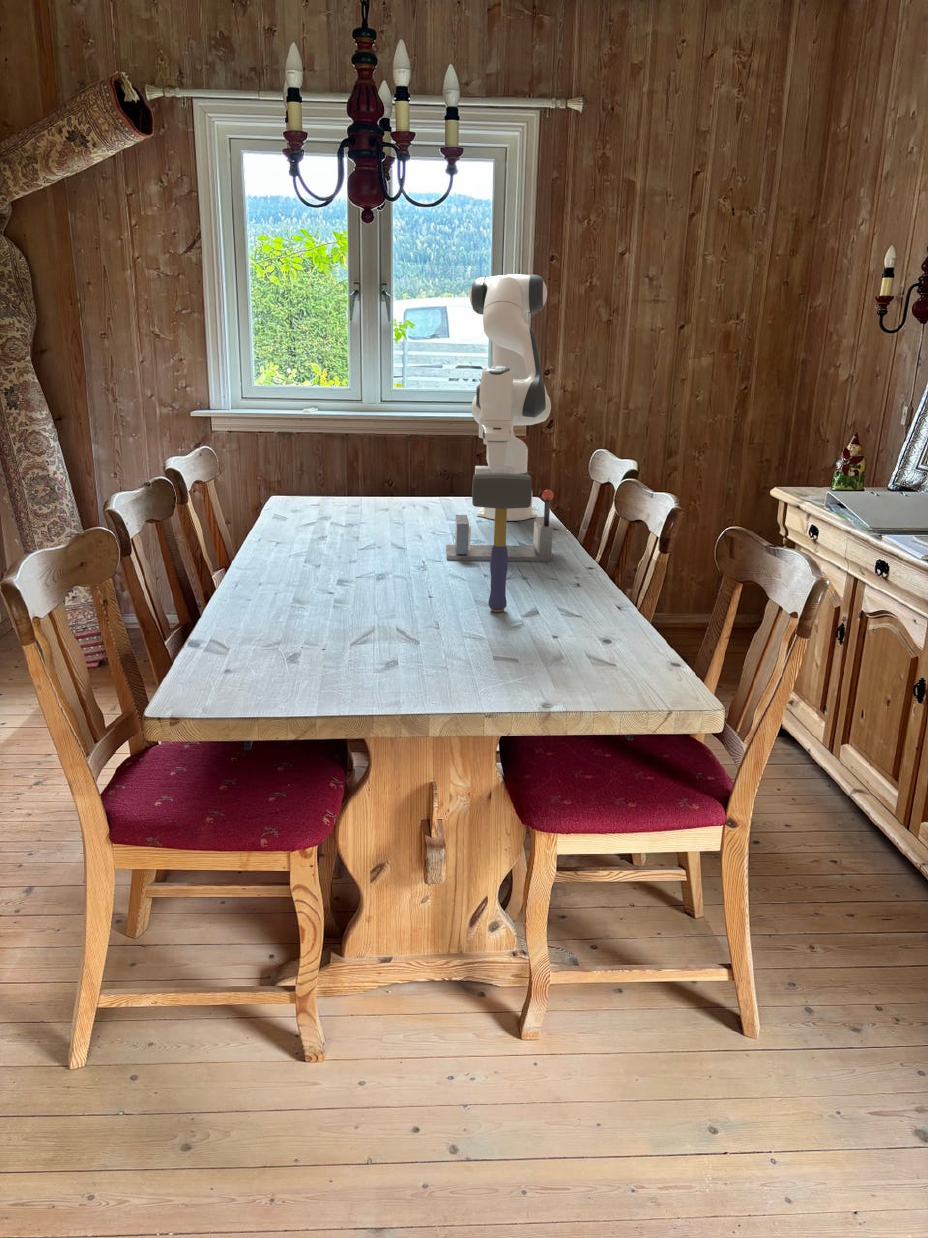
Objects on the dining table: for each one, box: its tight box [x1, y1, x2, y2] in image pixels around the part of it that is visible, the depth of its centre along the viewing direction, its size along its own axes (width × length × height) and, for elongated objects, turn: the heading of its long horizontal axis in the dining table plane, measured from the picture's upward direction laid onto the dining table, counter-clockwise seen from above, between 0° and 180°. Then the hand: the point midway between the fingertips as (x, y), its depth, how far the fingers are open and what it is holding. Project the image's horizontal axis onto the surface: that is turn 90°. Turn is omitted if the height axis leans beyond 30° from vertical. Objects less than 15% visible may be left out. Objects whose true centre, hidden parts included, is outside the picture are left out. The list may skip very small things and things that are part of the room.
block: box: [474, 465, 514, 474], centre depth 258 cm, size 5×10×7 cm, turn 91°
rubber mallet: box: [471, 473, 533, 613], centre depth 208 cm, size 12×8×30 cm, turn 91°
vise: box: [445, 489, 554, 563], centre depth 256 cm, size 12×27×18 cm, turn 92°
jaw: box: [454, 514, 472, 554], centre depth 257 cm, size 11×4×8 cm, turn 2°
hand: (494, 483), depth 258 cm, fingers closed on block, 5 cm apart
